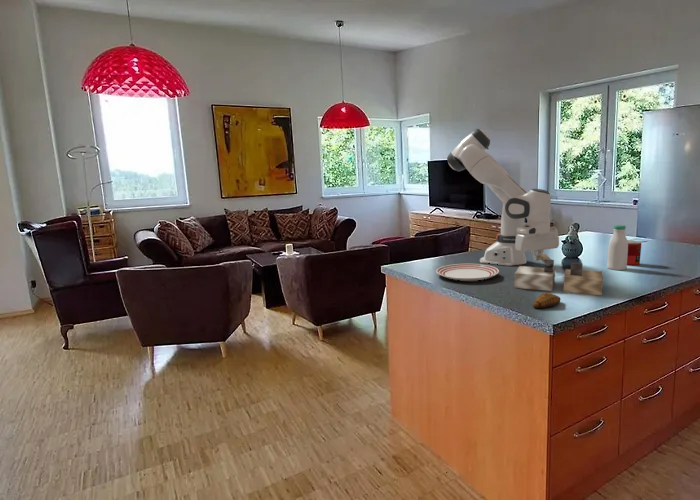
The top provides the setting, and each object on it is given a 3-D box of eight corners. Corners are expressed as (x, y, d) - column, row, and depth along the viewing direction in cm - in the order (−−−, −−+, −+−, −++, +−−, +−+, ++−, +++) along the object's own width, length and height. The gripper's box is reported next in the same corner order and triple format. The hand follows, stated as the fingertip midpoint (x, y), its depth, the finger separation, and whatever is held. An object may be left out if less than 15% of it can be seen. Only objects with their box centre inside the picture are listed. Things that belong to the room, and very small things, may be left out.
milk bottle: (629, 270, 204) (632, 226, 200) (610, 270, 205) (613, 226, 202) (622, 266, 211) (625, 224, 207) (604, 266, 213) (607, 224, 209)
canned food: (639, 266, 210) (641, 243, 208) (619, 265, 215) (621, 242, 213) (639, 263, 217) (641, 240, 215) (620, 261, 221) (621, 239, 219)
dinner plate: (460, 287, 187) (461, 280, 186) (424, 274, 211) (424, 267, 211) (512, 279, 197) (512, 271, 197) (472, 267, 222) (472, 260, 221)
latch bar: (537, 258, 196) (538, 253, 195) (546, 258, 195) (546, 253, 194) (544, 266, 181) (545, 260, 180) (554, 266, 180) (554, 260, 179)
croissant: (543, 312, 153) (544, 297, 152) (526, 307, 159) (526, 293, 158) (567, 304, 160) (568, 290, 159) (550, 300, 166) (551, 287, 165)
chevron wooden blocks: (514, 287, 183) (515, 262, 181) (518, 279, 195) (519, 255, 193) (601, 295, 169) (603, 267, 167) (601, 285, 181) (602, 259, 179)
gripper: (552, 225, 196) (550, 256, 199) (513, 228, 190) (512, 261, 192) (563, 227, 190) (561, 259, 193) (523, 230, 184) (522, 264, 187)
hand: (536, 260), depth 193 cm, fingers closed
